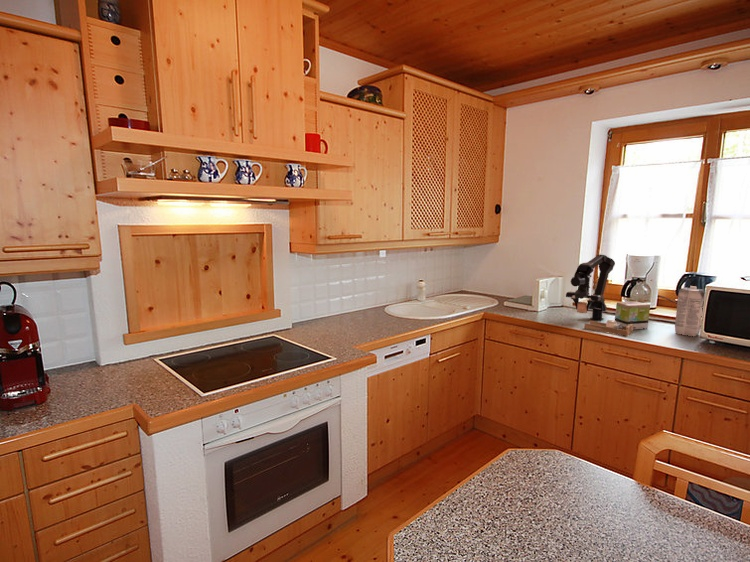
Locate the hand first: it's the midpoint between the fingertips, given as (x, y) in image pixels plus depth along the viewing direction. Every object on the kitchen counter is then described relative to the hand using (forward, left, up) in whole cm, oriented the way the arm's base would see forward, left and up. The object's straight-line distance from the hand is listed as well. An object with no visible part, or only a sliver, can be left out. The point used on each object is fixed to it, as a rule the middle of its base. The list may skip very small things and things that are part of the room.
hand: (582, 310), depth 255 cm
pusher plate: (+6, +22, -8) cm, 24 cm away
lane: (+6, +17, -8) cm, 19 cm away
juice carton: (-17, +50, -9) cm, 54 cm away
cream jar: (+6, +18, -9) cm, 21 cm away
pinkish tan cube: (0, 0, -1) cm, 1 cm away
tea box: (-11, +24, -9) cm, 28 cm away
